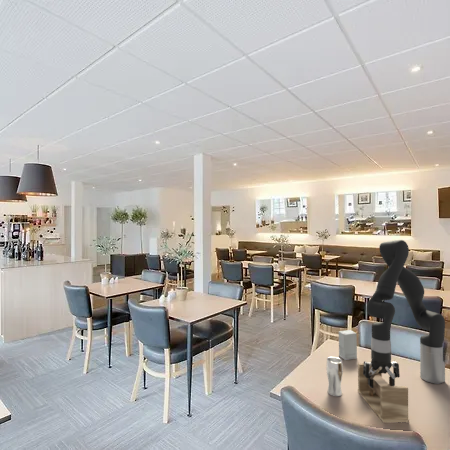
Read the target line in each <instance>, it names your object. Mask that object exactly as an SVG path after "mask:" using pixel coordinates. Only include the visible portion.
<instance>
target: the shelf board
mask: <svg viewBox="0 0 450 450" xmlns="http://www.w3.org/2000/svg"><path fill="white" fill-rule="evenodd" d="M367 384H368V378H367ZM380 386H390V385H389V382H388V381H386V380H385V379H384V378H383V376H382V377H381V376H380V375H379V374H377V375H376V376H374V378H373V388H371V389H372V390H373V391H374V392H375V393H376V394H377V395H378V396H379V397H380V398H381V395H380Z"/></svg>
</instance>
